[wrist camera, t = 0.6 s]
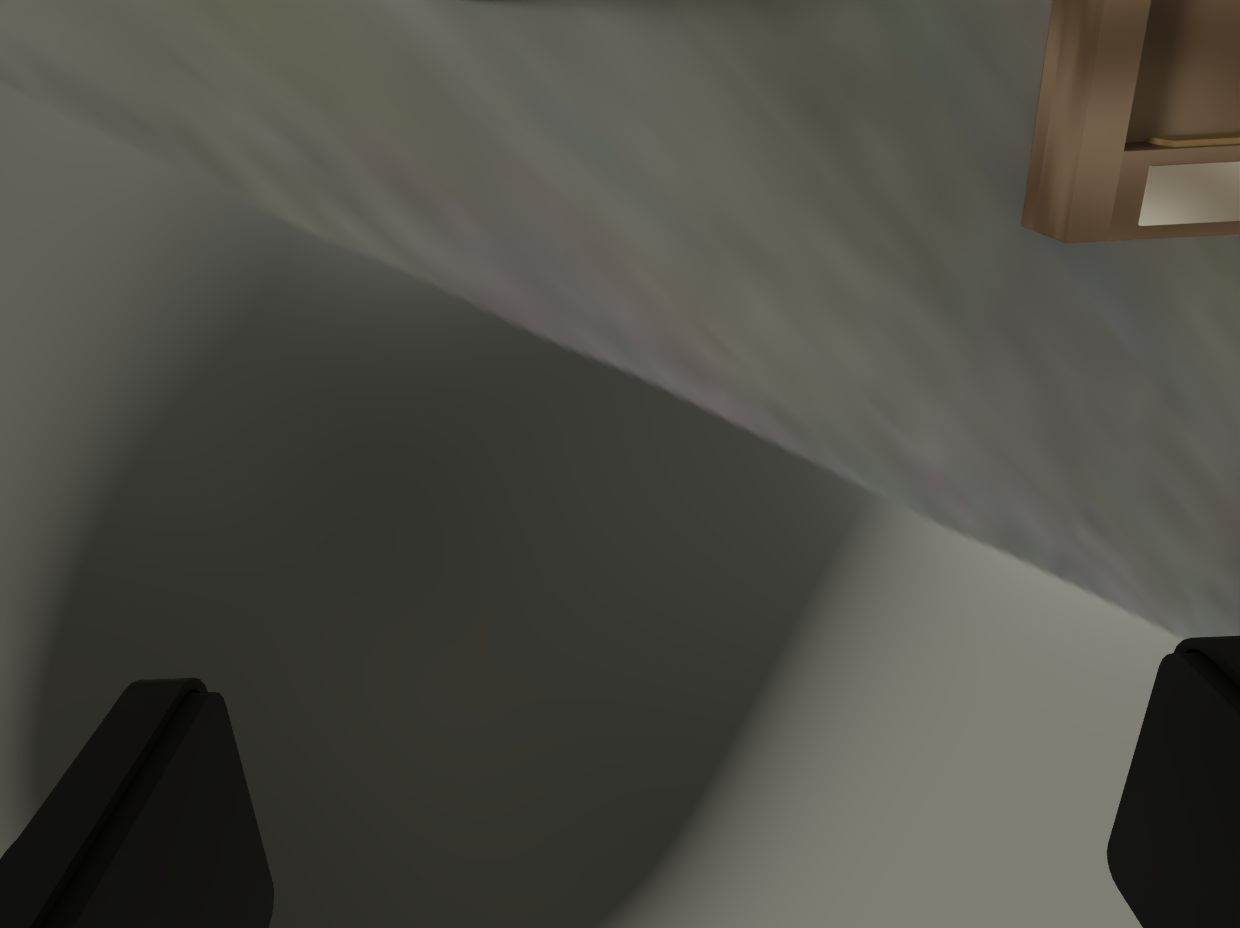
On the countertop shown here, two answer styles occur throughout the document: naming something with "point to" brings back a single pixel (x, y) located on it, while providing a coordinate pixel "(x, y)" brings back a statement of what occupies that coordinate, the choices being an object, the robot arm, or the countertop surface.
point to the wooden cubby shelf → (1137, 122)
